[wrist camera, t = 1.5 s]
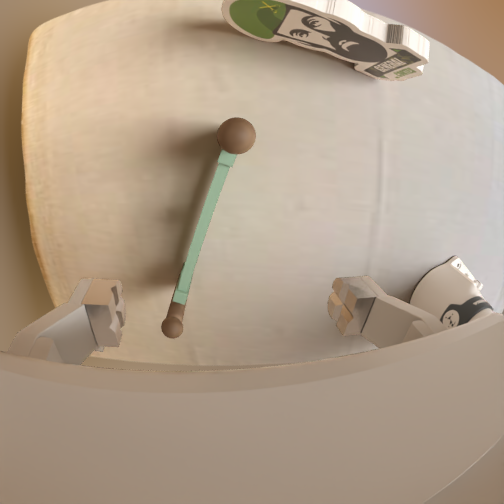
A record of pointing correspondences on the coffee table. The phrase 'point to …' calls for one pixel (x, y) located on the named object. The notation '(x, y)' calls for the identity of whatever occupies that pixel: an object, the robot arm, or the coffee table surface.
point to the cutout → (334, 33)
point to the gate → (203, 226)
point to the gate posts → (234, 142)
